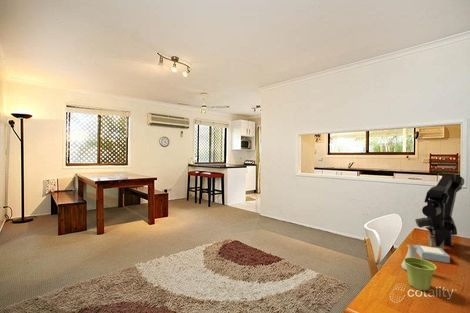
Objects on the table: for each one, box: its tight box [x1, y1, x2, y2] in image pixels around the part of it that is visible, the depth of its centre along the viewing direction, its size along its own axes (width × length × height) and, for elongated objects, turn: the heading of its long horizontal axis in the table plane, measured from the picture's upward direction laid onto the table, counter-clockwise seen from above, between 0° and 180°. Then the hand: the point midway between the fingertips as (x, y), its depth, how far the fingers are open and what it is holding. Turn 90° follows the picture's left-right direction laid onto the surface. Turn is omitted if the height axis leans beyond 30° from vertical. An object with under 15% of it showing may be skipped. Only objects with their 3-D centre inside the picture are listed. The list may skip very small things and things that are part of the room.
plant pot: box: [403, 257, 437, 292], centre depth 86 cm, size 9×9×9 cm
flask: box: [400, 244, 418, 272], centre depth 98 cm, size 7×7×10 cm
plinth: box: [415, 244, 451, 264], centre depth 111 cm, size 10×10×3 cm
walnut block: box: [427, 234, 445, 251], centre depth 119 cm, size 5×5×5 cm
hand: (435, 244), depth 119 cm, fingers closed on walnut block, 5 cm apart
